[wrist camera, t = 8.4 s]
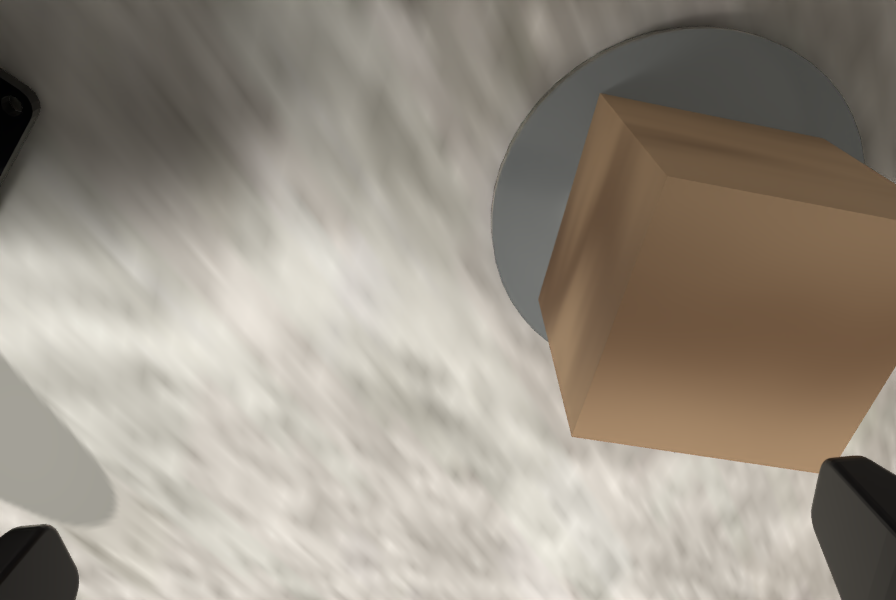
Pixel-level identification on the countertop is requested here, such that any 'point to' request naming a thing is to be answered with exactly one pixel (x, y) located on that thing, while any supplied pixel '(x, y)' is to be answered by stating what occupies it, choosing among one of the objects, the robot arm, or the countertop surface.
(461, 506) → the countertop surface
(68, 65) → the countertop surface
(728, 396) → the walnut block
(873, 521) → the robot arm
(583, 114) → the slate coaster
